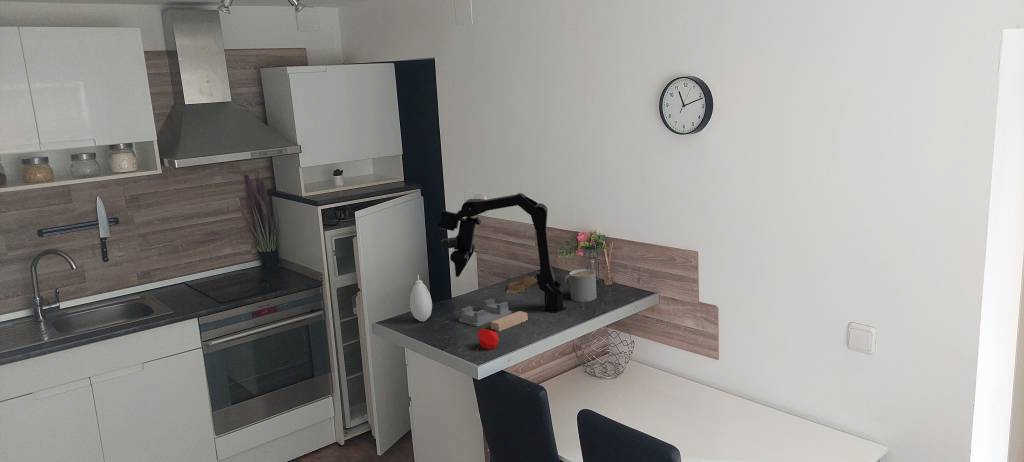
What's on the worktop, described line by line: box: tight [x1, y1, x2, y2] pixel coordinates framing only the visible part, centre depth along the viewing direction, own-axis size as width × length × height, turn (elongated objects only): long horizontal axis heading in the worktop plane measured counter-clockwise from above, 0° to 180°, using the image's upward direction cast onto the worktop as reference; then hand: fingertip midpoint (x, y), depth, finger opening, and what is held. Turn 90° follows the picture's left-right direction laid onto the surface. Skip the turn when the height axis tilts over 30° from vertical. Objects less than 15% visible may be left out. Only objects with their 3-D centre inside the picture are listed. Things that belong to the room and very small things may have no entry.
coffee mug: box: [564, 268, 597, 303], centre depth 284 cm, size 13×10×10 cm
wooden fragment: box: [506, 276, 538, 295], centre depth 308 cm, size 26×11×1 cm, turn 153°
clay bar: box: [490, 310, 529, 332], centre depth 260 cm, size 4×14×3 cm, turn 133°
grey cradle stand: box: [458, 297, 513, 328], centre depth 269 cm, size 10×17×4 cm, turn 133°
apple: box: [477, 327, 500, 350], centre depth 240 cm, size 7×7×8 cm
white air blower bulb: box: [409, 274, 433, 322], centre depth 269 cm, size 8×8×18 cm
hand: (459, 273), depth 274 cm, fingers open, 9 cm apart
